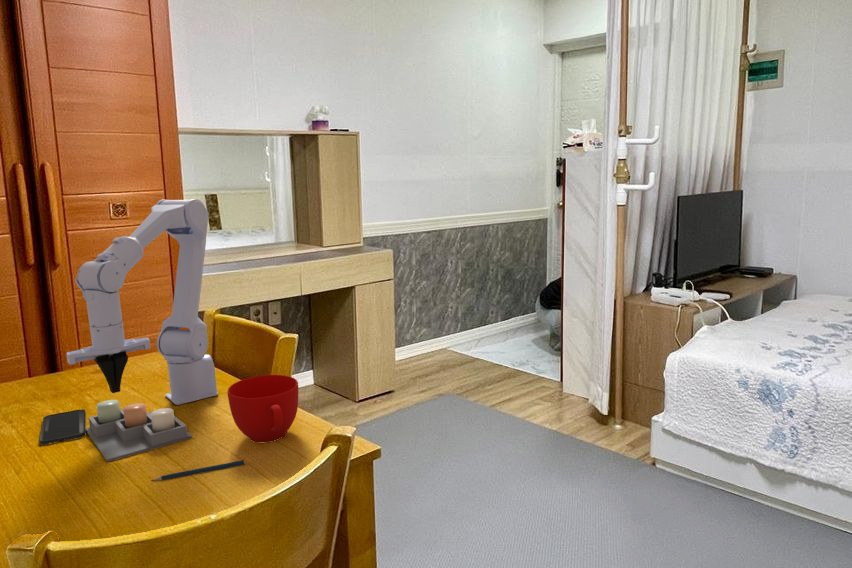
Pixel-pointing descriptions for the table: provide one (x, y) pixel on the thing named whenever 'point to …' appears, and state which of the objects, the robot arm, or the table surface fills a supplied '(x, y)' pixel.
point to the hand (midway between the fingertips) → (115, 391)
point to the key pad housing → (132, 437)
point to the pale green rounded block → (108, 411)
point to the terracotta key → (135, 415)
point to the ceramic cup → (264, 406)
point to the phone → (63, 426)
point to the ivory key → (162, 419)
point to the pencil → (199, 470)
